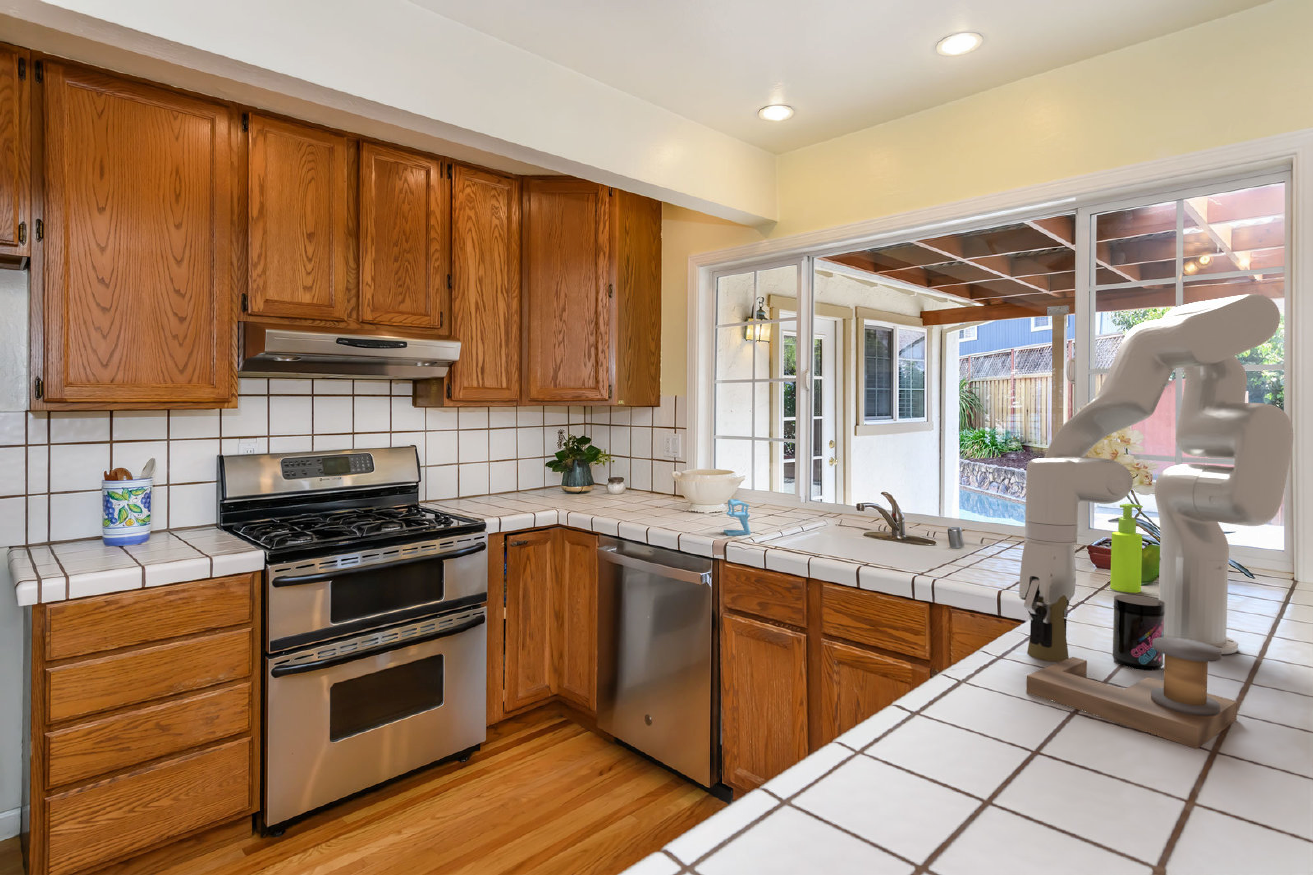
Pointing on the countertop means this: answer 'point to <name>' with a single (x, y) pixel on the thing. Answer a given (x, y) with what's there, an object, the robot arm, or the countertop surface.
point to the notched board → (1148, 694)
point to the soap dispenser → (1126, 554)
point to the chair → (741, 515)
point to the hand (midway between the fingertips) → (1048, 641)
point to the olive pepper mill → (1053, 635)
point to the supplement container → (1137, 631)
